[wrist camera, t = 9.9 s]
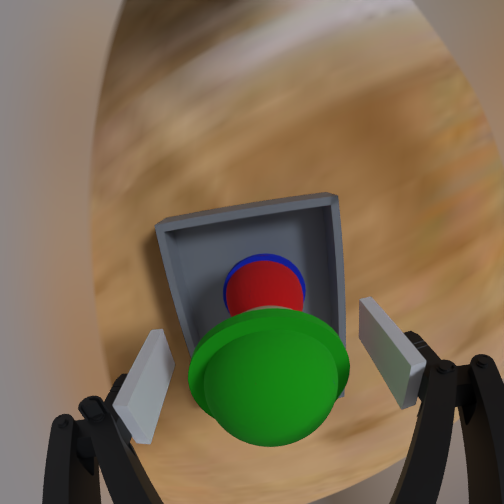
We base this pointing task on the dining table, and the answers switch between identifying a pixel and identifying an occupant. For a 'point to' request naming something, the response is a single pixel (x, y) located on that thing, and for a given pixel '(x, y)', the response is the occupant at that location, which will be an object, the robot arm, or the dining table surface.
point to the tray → (251, 243)
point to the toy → (268, 358)
